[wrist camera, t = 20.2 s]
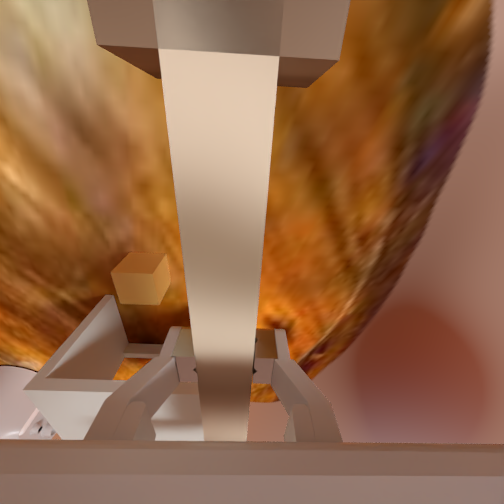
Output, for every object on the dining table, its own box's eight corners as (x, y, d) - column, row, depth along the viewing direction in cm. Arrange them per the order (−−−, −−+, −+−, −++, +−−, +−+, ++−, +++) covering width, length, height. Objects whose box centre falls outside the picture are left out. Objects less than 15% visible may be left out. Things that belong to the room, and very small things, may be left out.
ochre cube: (171, 281, 33) (159, 305, 28) (137, 280, 33) (120, 303, 28) (166, 253, 30) (152, 273, 26) (130, 251, 30) (110, 272, 26)
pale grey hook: (254, 466, 22) (254, 512, 19) (130, 461, 21) (112, 508, 19) (348, -207, 5) (475, -666, 2) (-252, -257, 4) (-1017, -849, 2)
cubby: (218, 350, 41) (204, 447, 28) (123, 347, 40) (66, 445, 28) (217, 299, 34) (199, 394, 22) (105, 294, 34) (22, 390, 21)
